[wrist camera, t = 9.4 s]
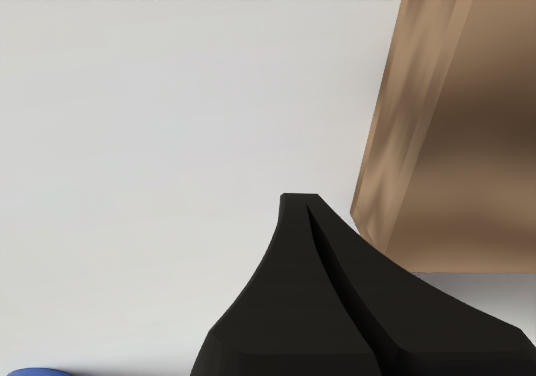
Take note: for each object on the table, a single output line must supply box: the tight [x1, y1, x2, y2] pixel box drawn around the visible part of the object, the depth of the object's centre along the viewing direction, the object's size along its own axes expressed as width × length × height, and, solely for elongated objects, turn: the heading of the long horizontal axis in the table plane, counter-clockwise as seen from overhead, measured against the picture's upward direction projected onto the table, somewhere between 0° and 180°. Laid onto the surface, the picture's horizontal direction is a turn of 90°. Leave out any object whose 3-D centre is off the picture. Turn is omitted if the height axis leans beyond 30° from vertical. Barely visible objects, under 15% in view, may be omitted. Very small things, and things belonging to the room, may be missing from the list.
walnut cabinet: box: [350, 0, 536, 273], centre depth 16 cm, size 18×10×6 cm, turn 177°
